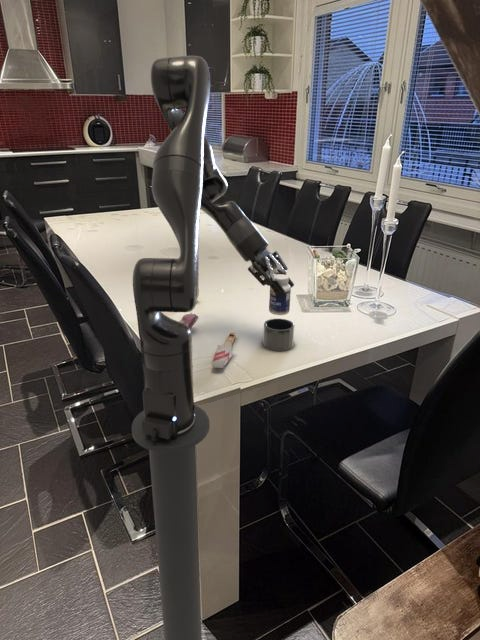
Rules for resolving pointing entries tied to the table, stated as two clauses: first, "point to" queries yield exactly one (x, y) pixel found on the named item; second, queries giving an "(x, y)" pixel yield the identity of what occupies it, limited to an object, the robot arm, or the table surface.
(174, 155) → the robot arm
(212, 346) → the table surface
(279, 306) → the pill bottle
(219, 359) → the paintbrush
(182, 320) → the video game controller
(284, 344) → the holder
